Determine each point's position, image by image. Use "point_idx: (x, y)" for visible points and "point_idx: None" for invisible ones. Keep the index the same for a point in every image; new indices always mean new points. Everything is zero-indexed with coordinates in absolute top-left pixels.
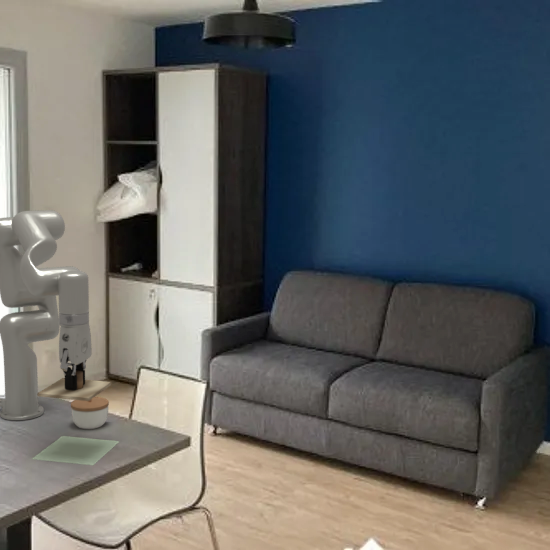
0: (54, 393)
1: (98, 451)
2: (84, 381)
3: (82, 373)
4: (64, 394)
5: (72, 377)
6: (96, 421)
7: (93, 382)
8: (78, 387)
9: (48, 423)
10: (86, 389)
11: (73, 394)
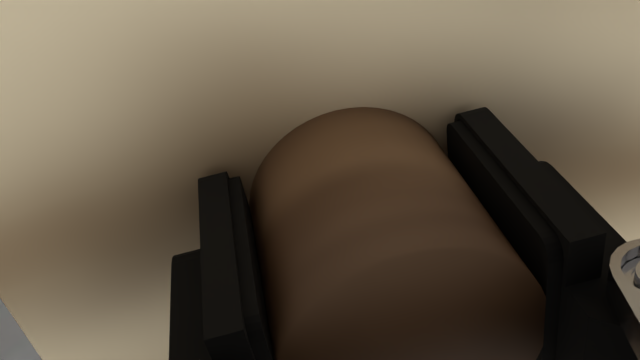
0: (621, 230)
1: None
2: (222, 194)
3: (379, 255)
4: (635, 127)
5: (612, 248)
6: None
7: (18, 150)
8: (416, 129)
9: (17, 340)
10: (366, 18)
11: (619, 33)
